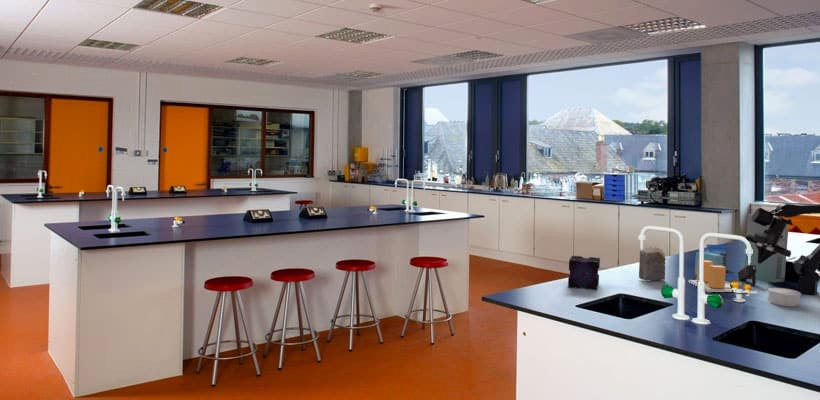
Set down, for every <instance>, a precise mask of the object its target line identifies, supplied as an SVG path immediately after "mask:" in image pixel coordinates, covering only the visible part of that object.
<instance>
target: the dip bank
mask: <svg viewBox="0 0 820 400" xmlns="http://www.w3.org/2000/svg"><path fill="white" fill-rule="evenodd" d="M688 282H689V283H688ZM688 282H687V283H688V284H690V283H691V285H692V284H693V286H694V285H695V286H694V287H696V286H697V282H698V280H696V279H695V280H694V279H688ZM730 283H731V282H729V281H727V280H725V288H712V287H710V286H708V284H709V282H705V291H704V292H706V293H711V292H732V288H731V287H730Z"/></svg>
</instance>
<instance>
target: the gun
mask: <svg viewBox="0 0 820 400" xmlns="http://www.w3.org/2000/svg"><path fill="white" fill-rule="evenodd" d="M755 274H756V265H750V266H746V267H742V269H740V270H739V271H738V272H737V277H738V281H742V282H743V281H747V280H751V287H752V286H754V287H755V286H756V282H757V281H756V280H757V279H756V278H755Z"/></svg>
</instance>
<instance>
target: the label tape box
mask: <svg viewBox="0 0 820 400" xmlns="http://www.w3.org/2000/svg"><path fill="white" fill-rule="evenodd" d="M705 252H709V253H714V254H719V255H721V256H722V257H723V263H722V266H724V267H726V268H727V251H726V250H725V244H706V249H705Z"/></svg>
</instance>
